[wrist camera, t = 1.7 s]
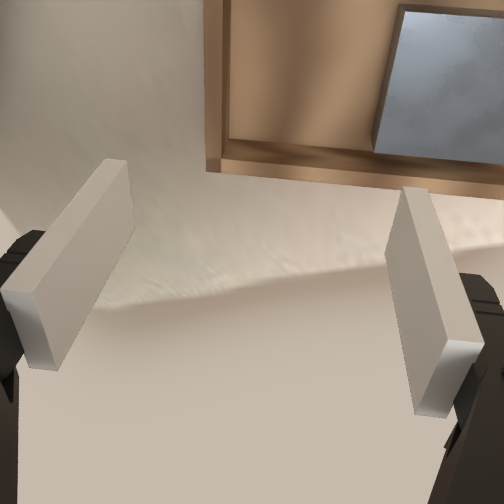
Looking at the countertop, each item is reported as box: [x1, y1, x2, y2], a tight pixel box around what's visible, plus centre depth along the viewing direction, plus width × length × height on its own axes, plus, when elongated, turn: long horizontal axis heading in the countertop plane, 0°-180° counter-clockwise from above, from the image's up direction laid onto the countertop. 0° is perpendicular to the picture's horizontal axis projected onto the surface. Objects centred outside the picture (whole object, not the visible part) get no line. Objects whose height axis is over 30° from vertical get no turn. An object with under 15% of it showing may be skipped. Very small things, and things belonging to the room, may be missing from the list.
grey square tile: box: [371, 3, 504, 165], centre depth 28 cm, size 8×8×2 cm
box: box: [204, 0, 504, 200], centre depth 28 cm, size 22×12×4 cm, turn 87°
